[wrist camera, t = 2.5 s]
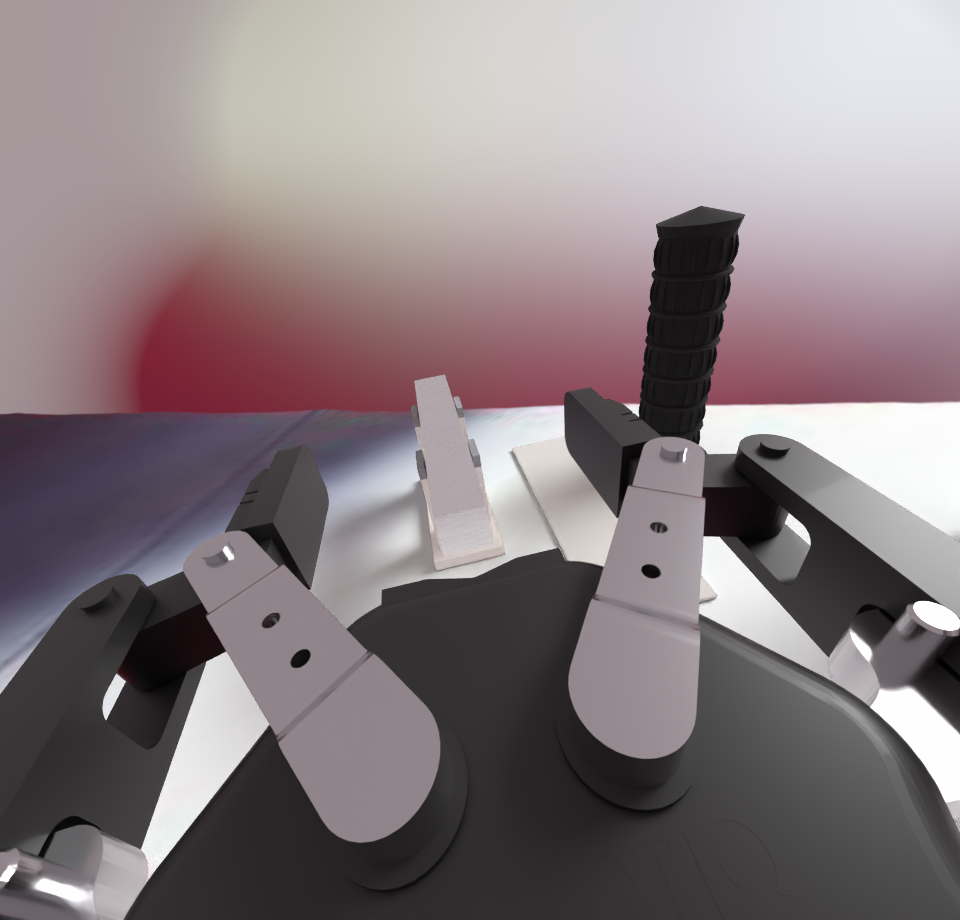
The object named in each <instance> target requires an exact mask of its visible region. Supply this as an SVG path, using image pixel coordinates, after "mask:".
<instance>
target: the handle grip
mask: <svg viewBox="0 0 960 920" xmlns="http://www.w3.org/2000/svg"><path fill="white" fill-rule="evenodd" d="M744 216H745V215H744V214H740V213H735V212H730V211H725V210H719V209H714V208H709V207H704V206H700V207H697V208H695V209H692V210H690V211H687V212H685V213H682V214H680V215H678V216H675V217H673V218H670V219H668V220H665V221H663V222H660V223H658V224H656V228H657V233H658V237H659V240H658V242H657V245H656V248H655V250H654V258H653V261H654V267H655V269H656V270H654V271H653V272H652V277H653V278H654V281H653V283H652V286H651V290H650V301H651V305H650V306H649V308H648V309H649V312H650V316H649V319H648V322H647V334H648V336H647V337H646V340H645V342H646V344H647V346H646V349H645V353H644V363H645V365H644V366H643V372H644V375H643V379H642V385H641V389H642V392H641V393H640V398H641V401H640V406H639V418H640V420H643V421H644V422H645V423H646V424H647V425H649V426H650V427H651V428H652V429H653V430H655V431H656V432H657V433H658V434H659V435H660V436H662V437H677V438H683V439H686V440H689V441H692V442H694V443H696V444H699V441H700V430H701V428H702V426H703V421H702V420H703V418H704V416H705V411H706V409H705V404H706V402H707V400H708V395H707V394H708V392H709V391H710V387H711V377H710V376H711V375H712V374H713V371H714V368H713V365H714V363H715V361H716V357H717V349H716V345H717V344H718V343H719V341H720V337H719V334H720V332H721V330H722V327H723V321H724V320H723V313H722V312H723V311H724V310H725V308H726V307H727V305H726V303H725V301H726V299H727V297H728V295H729V292H730V286H731V282H730V276H729V275H730V274H731V273H732V272H733V271H734V267H733V266H732V265H731V264H732V263H733V261H734V259H735V257H736V255H737V252H738V247H739V238H738V228H739V227H740V225H741V222H742V220H743V218H744ZM700 447H701V446H700ZM701 448H702V447H701ZM702 449H703V448H702ZM703 450H704V449H703ZM704 452H705V454H707V453H706V451H705V450H704Z"/></svg>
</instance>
